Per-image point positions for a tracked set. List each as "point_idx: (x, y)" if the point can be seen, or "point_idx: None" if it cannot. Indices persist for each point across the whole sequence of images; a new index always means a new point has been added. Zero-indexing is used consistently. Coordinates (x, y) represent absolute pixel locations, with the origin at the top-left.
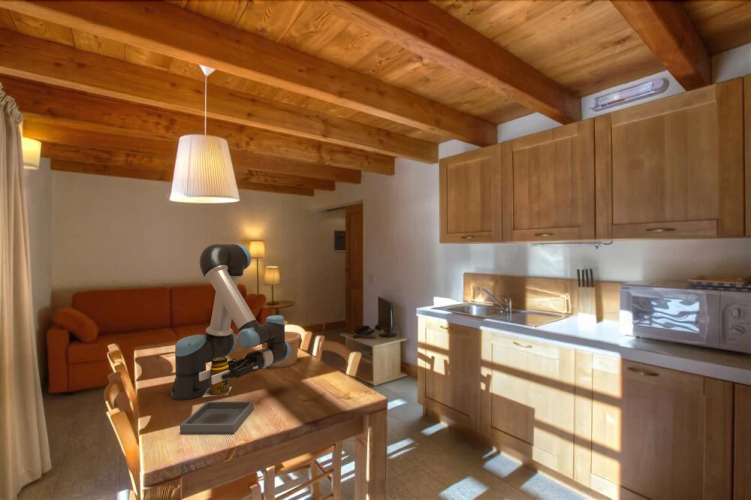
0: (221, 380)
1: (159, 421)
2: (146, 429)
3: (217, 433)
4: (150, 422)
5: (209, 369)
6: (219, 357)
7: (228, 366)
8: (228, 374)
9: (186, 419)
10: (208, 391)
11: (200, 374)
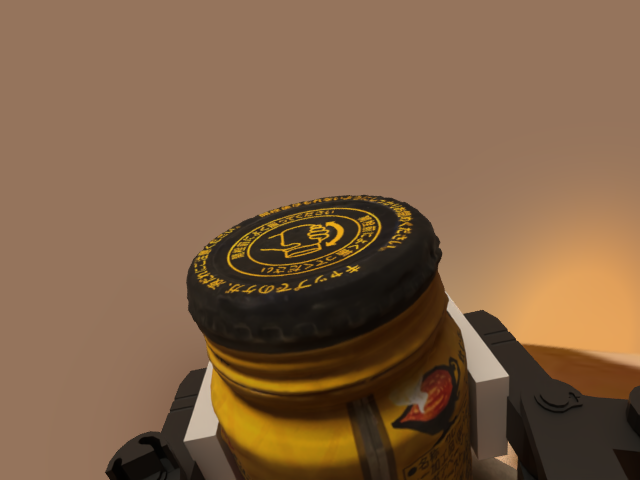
0: None
1: (624, 396)
2: (550, 351)
3: None
4: (630, 370)
5: (459, 311)
6: (383, 240)
7: (225, 433)
8: (166, 427)
9: None
10: (472, 469)
11: None
